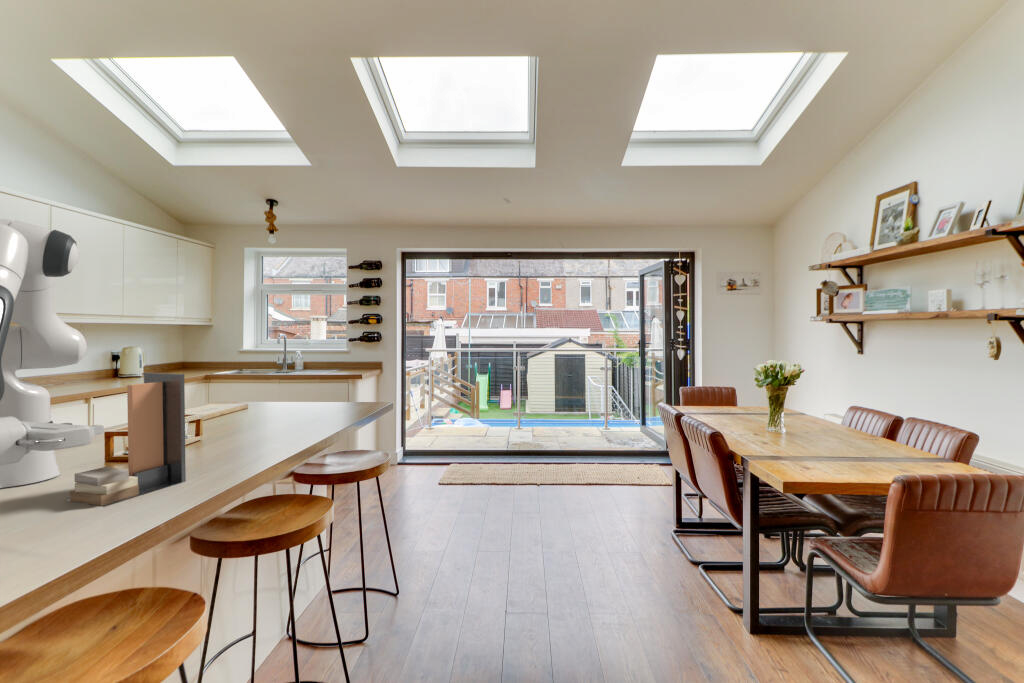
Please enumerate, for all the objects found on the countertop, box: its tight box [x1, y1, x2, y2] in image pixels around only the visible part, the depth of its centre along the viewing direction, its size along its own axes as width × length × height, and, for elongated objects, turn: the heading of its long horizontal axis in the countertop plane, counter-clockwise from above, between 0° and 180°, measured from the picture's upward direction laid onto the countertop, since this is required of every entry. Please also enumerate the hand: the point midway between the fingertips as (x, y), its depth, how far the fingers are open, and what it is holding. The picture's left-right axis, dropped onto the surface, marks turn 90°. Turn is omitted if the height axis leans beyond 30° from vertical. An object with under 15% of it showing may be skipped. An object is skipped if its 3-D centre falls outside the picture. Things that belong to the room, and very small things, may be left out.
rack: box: [65, 372, 187, 508], centre depth 112 cm, size 18×12×28 cm, turn 162°
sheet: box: [126, 382, 164, 476], centre depth 116 cm, size 7×2×24 cm, turn 162°
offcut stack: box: [69, 466, 139, 507], centre depth 108 cm, size 8×10×6 cm
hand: (85, 427), depth 104 cm, fingers open, 8 cm apart
